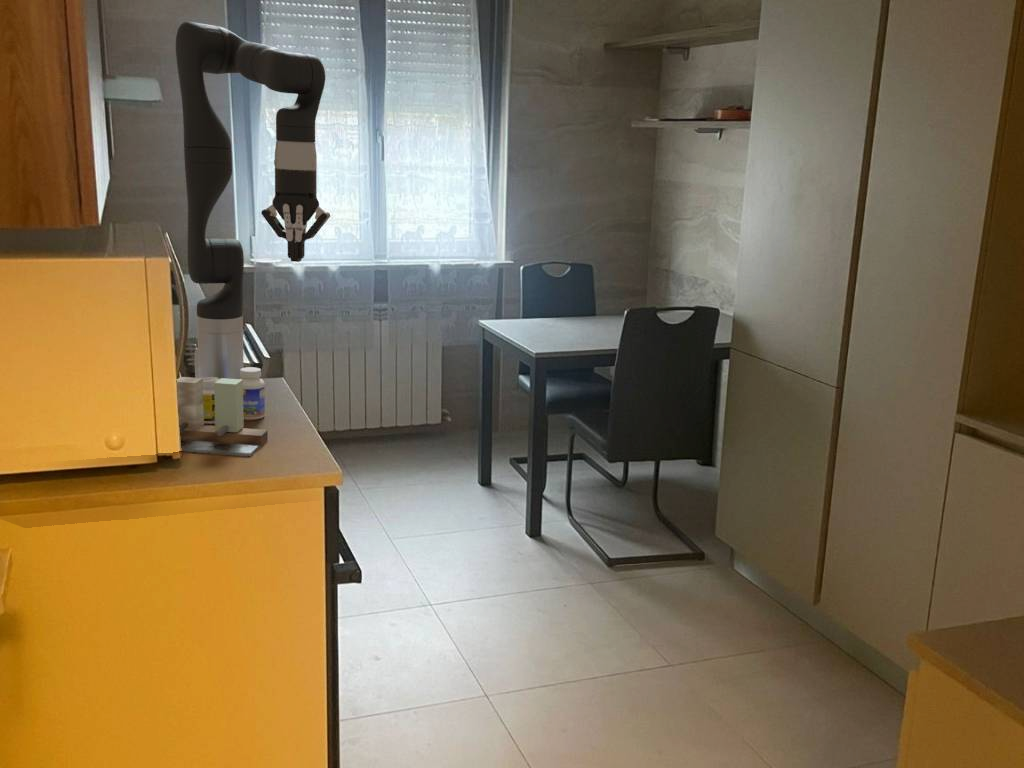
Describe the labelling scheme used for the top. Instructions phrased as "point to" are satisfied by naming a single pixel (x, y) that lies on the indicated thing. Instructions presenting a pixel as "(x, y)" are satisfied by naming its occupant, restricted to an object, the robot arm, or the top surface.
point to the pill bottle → (253, 393)
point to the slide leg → (228, 405)
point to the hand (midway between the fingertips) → (295, 261)
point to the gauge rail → (228, 435)
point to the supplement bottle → (209, 399)
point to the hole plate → (218, 447)
